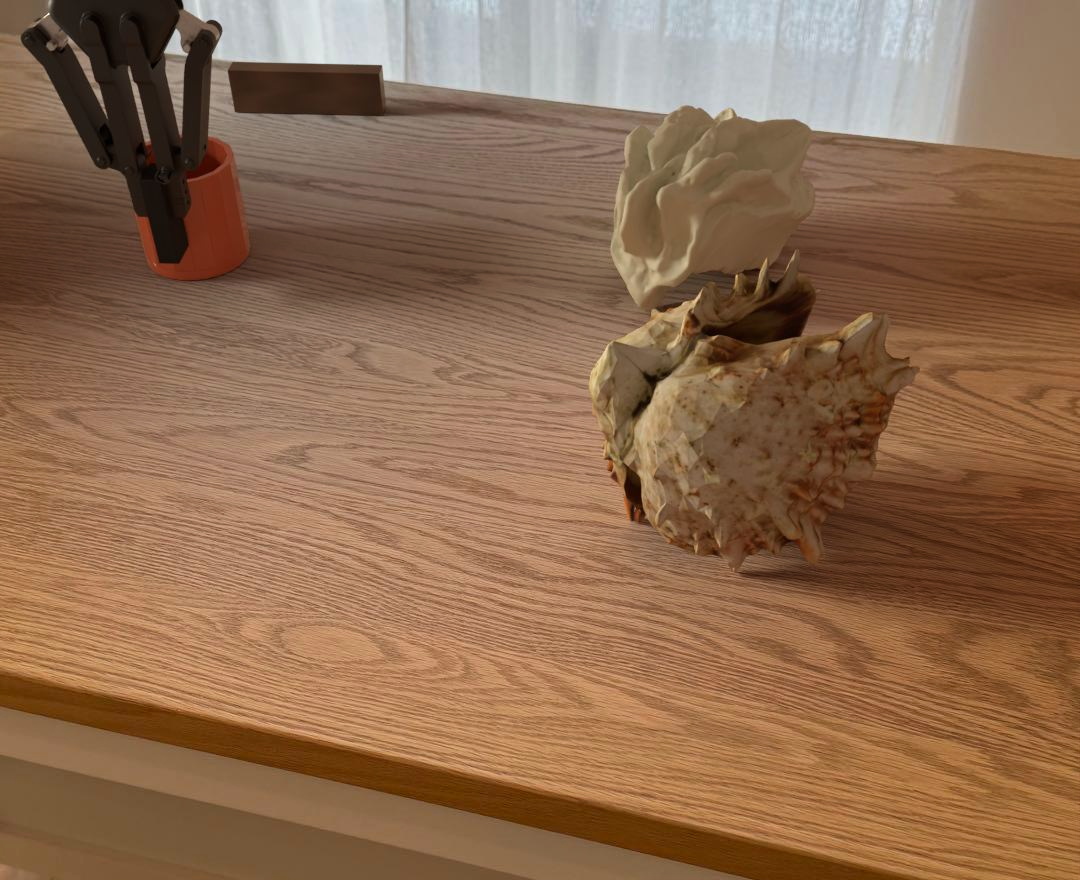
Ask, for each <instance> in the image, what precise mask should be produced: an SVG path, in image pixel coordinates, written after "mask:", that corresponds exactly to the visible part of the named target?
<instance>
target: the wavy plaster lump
mask: <svg viewBox="0 0 1080 880" xmlns="http://www.w3.org/2000/svg"><path fill="white" fill-rule="evenodd" d="M813 139H814V133H813V130H812V129H811V127H809V125H808V124H806V123H804V122H802V121H800V120H798V119H795V118H791V119H790V118H789V119H788V118H786V119H785V118H784V119H782V118H781V119H779V118H778V119H777V118H776V119H775V118H774V119H768V120H762V121H756V120H753V119H750V118H747V117H742V116H738V114H737V113H736V111H735V110H734V108H732V107H728V108H725V109H723V110H721V111H720V112H719V113H718V114H717V115H716V116H715V117H712V115H710V114H709V113H708V112H707V111H706V110H704V109H703V108H701V107H697V108H696V107H695V106H693V105H688V104H686V105H681V106H679V107H678V108H677V109H675V110H673V111H671V112H669V113H668V115H666V116H665V117H664V119H663V123H662V124H660V125H659V126H658V127H657V128H656V129H655V130H654V132H653V133H652V131H651V130H650V129H649V128H648V127H647V126H646V125H643V124H639V125H637V126H636V127H635V128H633V130H631V131H630V132H629V134H628V135H627V136H626V138H625V141H624V149H623V155H624V162H625V165H624V166H625V167H624V168H623V170H622V172H621V174H620V176H619V181H618V186H617V189H616V193H615V205H614V208H613V233H612V236H611V241H610V246H609V251H610V255H611V259H612V261H613V264H614V266H615V268H616V269H617V271H618V273H619V275H620V276H621V278H622V280H623V282H624V283H625V285H626V288H627V291H628V293H629V295H630V296H631V298H632V300H633V302H634V303H635V305H636V306H637V307H638V308H640V309H642V310H643V311H645V312H652V309H656V308H657V307H658V306H660V304H661V303H662V302H663V301H664V299H665V297H666V295H667V292H668V289H669V287H672V288H676V287H678V286H680V285H681V284H682V283H683V282H685V280H687V278H689V276H691V274H693V275H698V274H703V273H707V272H709V271H717V272H721V273H722V274H724V275H727V274H728V275H735V276H736V275H739V274H741V273H743V272H744V271H751V270H755V269H759V270H761V268H762V266H763V264H764V262H765V260H766V258H767V256H768V258H769V267H771V266H772V265H773V264H774V263H775V262H776V261H777V260H778V259H779V257H780V254H781V253H782V250H783V248H784V247H785V246H786V245H787V242H788V239H789V238H790V237H791V236H792V235H793V234H794V233H795V232H796V231H797V230H798V228H799V226H800V224H801V223H802V222H803V221H805V220H806V219H807V218H808V217H809V216H810V215H811V214H812V213H813V211H814V207H815V204H816V197H817V196H816V188H815V186H814V185H813V184H812V182H811V181H810V180H808V179H803V178H802V177H797V174H799V172H800V171H801V170H802V168H803V166H804V163H805V159H806V156H807V153H808V150H809V148H810V147H811V146H812V143H813Z"/></svg>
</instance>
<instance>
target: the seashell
mask: <svg viewBox="0 0 1080 880" xmlns="http://www.w3.org/2000/svg"><path fill="white" fill-rule="evenodd" d="M800 256H801V255H800V249H798V248H797V249H795V250H794V253H793V255H792V257H791V259H790V261H789V262H788V265H787V266H786V269H785V271H784V272H783V275H782V276H781V278H780V279H778V280H777V281H774V280H772V279H771V277H770V276H769V275H770V266H769V258H768V256H767V258H766V260H765V262H764V264H763V266H762V268H761V269H760V271H759V274H758V280H757V282H756V281H752V280H750V279H749V278H747V277H746V276H745V274H744V273H743V272H741V273H738V274H736V275H735V280H734V286H733V288H732V290H731V292H730V293H729V294H728V295H727V296H726V295H723V294H721V292H720V290H719V289H718V285H717V283H716V282H713V281H710V282H708V283H707V284H705V285H704V286H703V287H702V288H701V290H700V291H699V293H698V295H697V296H696V297H695V299H691V300H687V301H683V302H682V304H681V305H679V306H677V307H673V308H667V310H666V311H665V312H662V311H660V310H658V309H656V308H655V309H652V311H650V317H649V320H648V321H647V322H646V323H645V324H643V325H642V326H640V327H637V328H636V329H634V330H633V331H631V332H629V333H627V334H625V336H623V337H621V338H619V339H611V341H610V342H609V343H608V344H607V345H606V347H605V349H604V351H603V353H602V354H601V356H600V357H599V359H598V360H597V361H596V363H595V365H594V366H593V368H592V370H591V371H590V375H589V376H590V377H589V382H588V390H589V394H590V398H591V402H592V411H591V414H592V415H593V417H594V419H596V421H597V424H598V426H599V428H600V431H601V433H602V434H603V437H604V441H603V443H602V445H601V449H602V450H603V456H602V460H605V461H608V462H607V467H606V471H607V472H610V475H609V478H610V479H611V480H612V481H613V482H615V483H617V484H618V485H619V487H620V489H621V492H622V494H623V495H622V496H623V501H624V508H625V512H626V515H627V519H628V521H629V520H630V521H631V522H635V523H637V524H642V523H643V522H644V520H645V517H646V518H647V520H648V522H649V524H650V525H651V526H652V528H653V529H654V530H656V532H657V533H658V534H660V536H661V537H662V538H663V539H664V540H665V541H666V542H667V543H668V545H669V544H670V545H673V546H675V547H677V548H680V549H681V550H684V551H686V552H689V553H693V554H695V555H697V556H698V557H702V558H703V557H706V556H715V557H719V558H722V559H723V560H724V561H725V562H726V563H727V565H728V566H729V569H730V570H731V572H732V573H733V572H735V571H736V572H737V571H738V570H739V569H740V568H741V566H742V565H743V563H744V561H745V559H746V558H747V557H749V556H756V555H757V554H758V553H759V551H761V550H763V551H764V550H766V551H767V552H768V553H769V554H770V553H772V555H773V556H774V557H777V556H780V554H781V551H782V548H783V547H784V546H785V545H786V544H787V543H791V542H795V545H797V546H798V549H799V550H800V552H801V554H802V555H803V557H804V559H805V560H806V562H807V563H809V564H811V565H812V566H817V565H818V564H819V560H820V558H823V557H824V556H825V552H826V548H825V545H824V542H823V539H822V530H821V529H822V528H821V526H822V524H823V523H824V522H825V521H826V520H827V518H828V516H829V515H830V513H831V512H833V511H836V510H839V509H842V510H843V509H844V507H846V503H847V496H848V494H849V492H851V491H852V490H853V489H854V488H855V487H856V486H857V485H858V484H859V483H860V482H867V481H870V480H871V479H873V473H874V472H875V471H876V468H877V466H878V462H877V456H876V455H877V454H876V453H877V451H878V450H879V439H880V437H881V434H882V433H883V432H884V431H885V430H886V429H887V428H888V425H889V419H890V415H891V413H892V411H893V408H894V405H895V402H896V397H897V395H898V394H899V392H900V391H901V390H903V389H905V388H906V387H908V386H909V385H910V384H911V385H912V384H913V383H914V382H915V379H916V375H917V374H919V372H920V371H921V368H920V366H918V365H914V366H913V365H912V366H909V365H910V364H911V361H910V358H911V355H910V356H906V357H903V358H901V357H894V356H892V355H891V353H889V352H888V351H887V349H886V346H885V344H886V340H887V334H888V330H889V327H890V326H891V324H892V321H891V319H890V316H889V314H888V313H885V312H878V311H870V312H867V313H863V314H861V315H860V316H858V317H857V318H856V319H855V320H853V321H852V322H851V323H849V324H847V325H846V326H844V327H843V328H841V329H840V330H838V331H835V332H832V333H823V334H811V335H803V332H804V330H805V327H806V325H807V323H808V320H809V317H810V315H811V313H812V311H813V307H814V305H815V303H816V302H817V297H818V296H819V293H820V291H821V289H817V290H816V289H815V287H814V284H812V281H811V279H810V277H809V276H808V275H807V274H802V273H801V274H800V273H799V267H800V261H801V260H800V259H801V257H800ZM798 273H799V274H798ZM736 572H735V573H736Z"/></svg>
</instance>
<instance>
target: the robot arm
mask: <svg viewBox="0 0 1080 880" xmlns="http://www.w3.org/2000/svg"><path fill="white" fill-rule="evenodd" d="M184 7H185V6H184V2H183V0H47V11H48V13H46V14H45V15H44V16H43V17H37V18H35V19H34V20H33V22H32V23H30V24H29V26H28V27H26V29H24V31H23V32H22V33H21V35H20V42H21V44H22V46H23V47H24V48H25V49H26V50H27V51H28V52H29V53H30V54H31V55H32V56H33V58H35V60H36V61H37V62H38V63H39V64H40V65H41V66H42V67H43V68H44V71H45V72H46V74H47V76H48V78H49V80H50V82H51V85H52V86H53V87H54V90H55V91H56V93H57V95H58V97H59V99H60V102H61V103H62V105H63V108H64V109H65V110H66V113H67V115H68V116H69V119H70V121H71V122H72V124H73V126H74V129H75V130H76V132H77V134H78V136H79V138H80V139H81V142H82V143H83V145H84V147H85V149H86V151H87V154H88V155H89V157H90V158H91V161H92V162H93V164H94V166H95V167H96V168H98V169H100V170H107V169H111V170H114V171H117V172H119V173H120V174H122V175H123V177H124V178H125V180H126V185H127V188H128V192H129V196H130V200H131V203H132V208H133V212H134V211H135V213H136V214H137V216H138V217H148V220H149V224H150V228H151V232H152V236H153V240H154V244H155V248H156V252H157V256H158V260H159V263H165V264H179V263H180V261H181V259H182V258H183V256H184V254H185V252H186V250H187V248H188V246H189V243H188V238H187V234H186V229H185V225H184V220H183V218H185V217H186V215H187V213H188V212H189V210H190V207H191V203H192V201H191V197H190V192H189V187H188V183H187V178H186V174H185V171H187V170H189V171H194V170H196V169H197V168H198V167H199V165H200V163H201V161H202V160H203V158H204V156H205V154H206V152H207V149H208V136H209V125H210V109H211V108H210V106H211V104H210V103H211V84H212V67H213V65H212V64H213V54H214V52H215V50H216V48H217V45H218V43H219V41H220V39H221V37H222V35H223V32H224V31H223V26H222V24H221V23H220V22H219V21H217V20H216V19H208V20H207V21H206V22H205V21H204V20H202V19H200V18H199V17H198V16H196V15H194V14H192V13H190V12H189V11H187V10H186V9H185V8H184ZM176 30H177V31H178V32H179V35H180V41H179V42H180V47H181V50H182V51H183V52H184V53H185V54H187V55H186V58H185V62H184V68H183V87H182V88H183V89H182V90H183V91H182V94H183V95H182V118H181V119H182V120H181V121H182V123H181V134H180V131H179V126H178V122H177V118H176V112H175V107H174V104H173V103H174V102H173V99H172V94H171V90H170V86H169V81H168V76H167V72H166V66H167V60H166V54H165V51H166V49H167V47H168V45H169V43H170V41H171V39H172V38H173V36H174V33H175V31H176ZM69 39H71V41H72V42H73V43H74V44H75V45H76V46H77V48H79V49H80V50H81V51H82V52H83V53H84V54H85V55H86V56H87V57H88V59H89V63H90V67H91V71H92V75H93V79H94V81H95V83H97V84H98V86H99V90H100V94H101V98H102V101H103V105H104V109H103V107H102V104H101V103H100V101H99V99H98V96H97V95H96V93H95V91H94V89H93V87H92V85H91V82H90V81H89V79H88V77H87V75H86V73H85V71H84V69H83V67H82V65H81V62H80V61H79V59H78V56H77V55H76V53H75V51H74V50H73V48H72V47H71V45H70V43H68V42H69ZM129 70H130V73H129ZM130 74H131V77H130ZM131 78H132V81H133V83H134V84H135V85H136V86H137V90H138V95H139V99H140V103H141V107H142V111H143V115H144V119H145V124H146V127H147V132H148V136H149V142H150V141H151V145H152V149H153V154H154V158H155V162H156V163H150V164H149V166H148V165H147V160H148V158H149V157H150V155H151V150H149V152H148V153H147V149H146V145H145V143H146V141H145V137H144V132H143V128H142V124H141V120H140V115H139V112H138V108H137V103H136V99H135V95H134V90H133V86H132V82H131ZM104 110H105V111H104ZM180 135H182V144H181V139H180ZM135 213H134V214H135Z"/></svg>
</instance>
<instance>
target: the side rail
mask: <svg viewBox="0 0 1080 880" xmlns="http://www.w3.org/2000/svg"><path fill="white" fill-rule="evenodd" d="M227 76H228V82H229V89H230V92H231V93H230V94H231V98H232V104H233V110H234V113H253V114H254V113H255V114H258V113H259V114H293V115H294V114H297V115H301V114H302V115H341V116H344V115H346V116H384V114H385V111H386V108H387V102H386V93H385V92H386V91H385V81H384V80H385V79H384V69H383V64H358V63H357V64H356V63H355V64H354V63H353V64H351V63H347V64H346V63H345V64H344V63H306V62H305V63H304V62H262V61H261V62H258V61H254V62H253V61H232V62H231V63H230V65H229V67H228V69H227Z"/></svg>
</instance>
